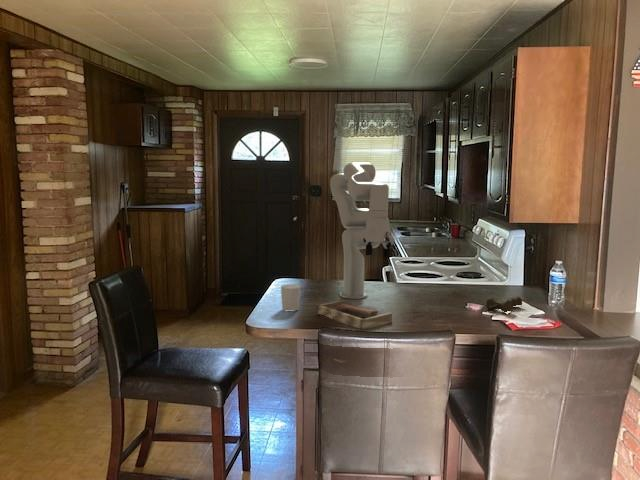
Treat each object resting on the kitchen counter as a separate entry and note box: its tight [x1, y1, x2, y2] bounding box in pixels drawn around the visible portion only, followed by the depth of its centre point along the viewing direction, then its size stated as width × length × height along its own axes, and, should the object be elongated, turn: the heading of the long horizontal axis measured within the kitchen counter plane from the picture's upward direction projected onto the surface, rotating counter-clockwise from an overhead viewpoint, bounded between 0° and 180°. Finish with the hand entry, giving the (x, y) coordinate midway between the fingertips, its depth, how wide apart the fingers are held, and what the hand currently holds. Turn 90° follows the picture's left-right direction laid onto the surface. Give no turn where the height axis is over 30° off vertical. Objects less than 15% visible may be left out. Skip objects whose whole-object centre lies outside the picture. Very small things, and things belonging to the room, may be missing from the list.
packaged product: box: [336, 303, 379, 319], centre depth 206 cm, size 18×5×10 cm
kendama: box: [485, 295, 523, 313], centre depth 220 cm, size 6×10×20 cm
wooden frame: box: [315, 299, 393, 331], centre depth 206 cm, size 27×16×4 cm, turn 40°
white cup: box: [280, 283, 301, 310], centre depth 217 cm, size 8×8×10 cm
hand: (377, 256), depth 212 cm, fingers open, 9 cm apart
